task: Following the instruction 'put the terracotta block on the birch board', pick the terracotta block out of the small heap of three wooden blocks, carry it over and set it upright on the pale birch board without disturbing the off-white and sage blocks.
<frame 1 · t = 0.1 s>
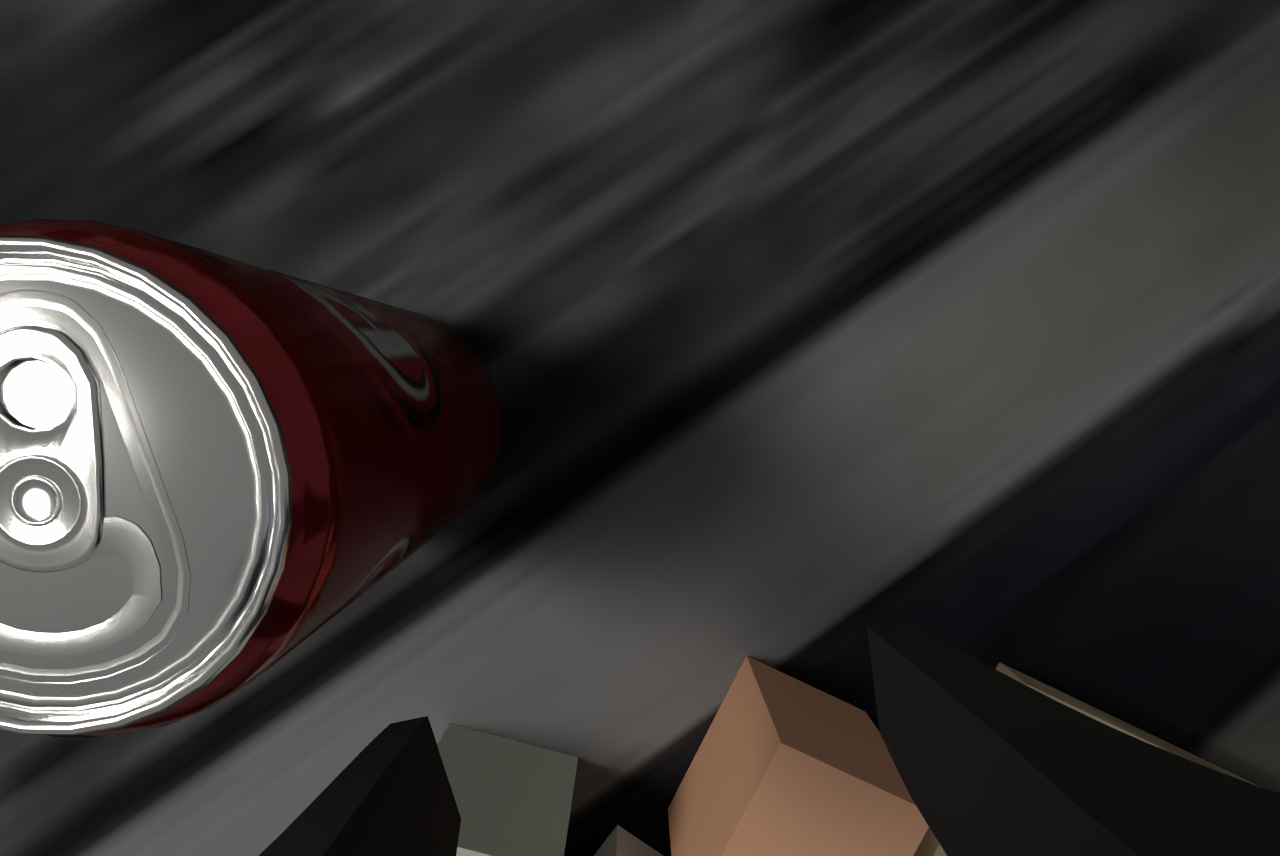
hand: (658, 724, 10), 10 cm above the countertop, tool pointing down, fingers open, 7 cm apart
terracotta block: (765, 758, 21), on the countertop
soda can: (396, 423, 20), on the countertop
sage block: (492, 819, 21), on the countertop
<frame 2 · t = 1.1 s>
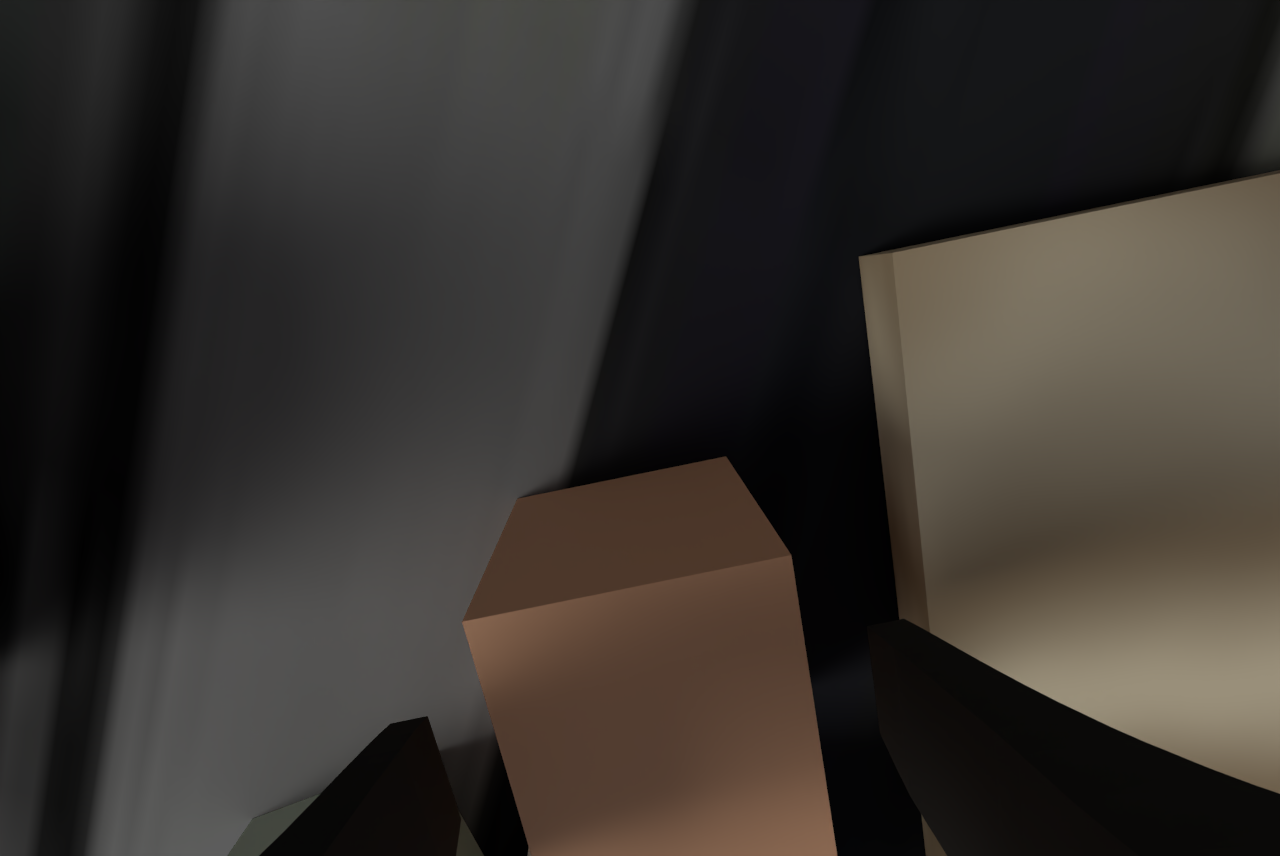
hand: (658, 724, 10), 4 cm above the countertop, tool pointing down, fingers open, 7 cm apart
terracotta block: (648, 601, 14), on the countertop
birch board: (1180, 537, 14), on the countertop
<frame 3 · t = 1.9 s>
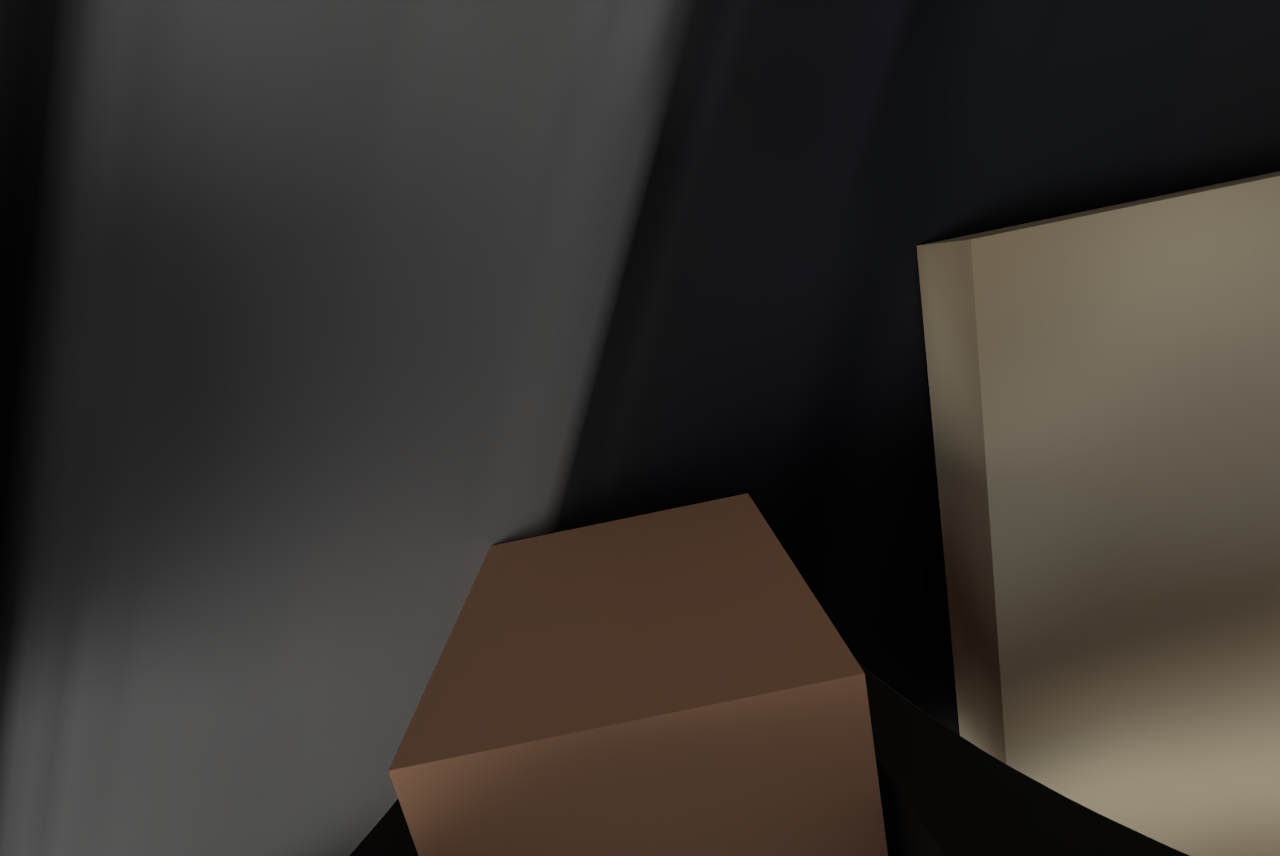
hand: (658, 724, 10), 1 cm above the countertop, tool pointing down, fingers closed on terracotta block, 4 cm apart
terracotta block: (652, 670, 11), on the countertop, touching gripper
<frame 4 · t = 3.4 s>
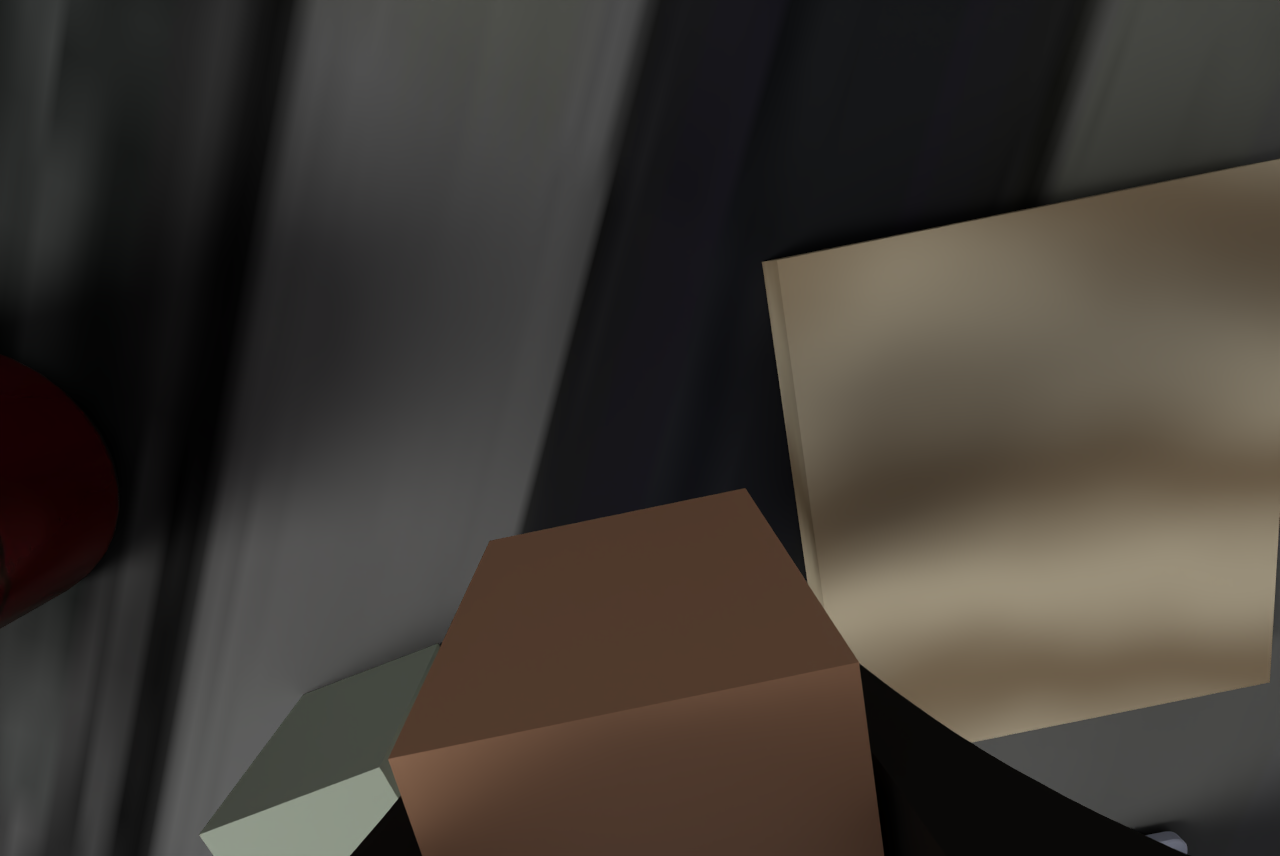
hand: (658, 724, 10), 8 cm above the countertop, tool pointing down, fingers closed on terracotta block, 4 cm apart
terracotta block: (650, 664, 11), point 7 cm above the countertop, touching gripper
soda can: (3, 471, 17), on the countertop
birch board: (1014, 476, 18), on the countertop
sage block: (415, 744, 20), on the countertop
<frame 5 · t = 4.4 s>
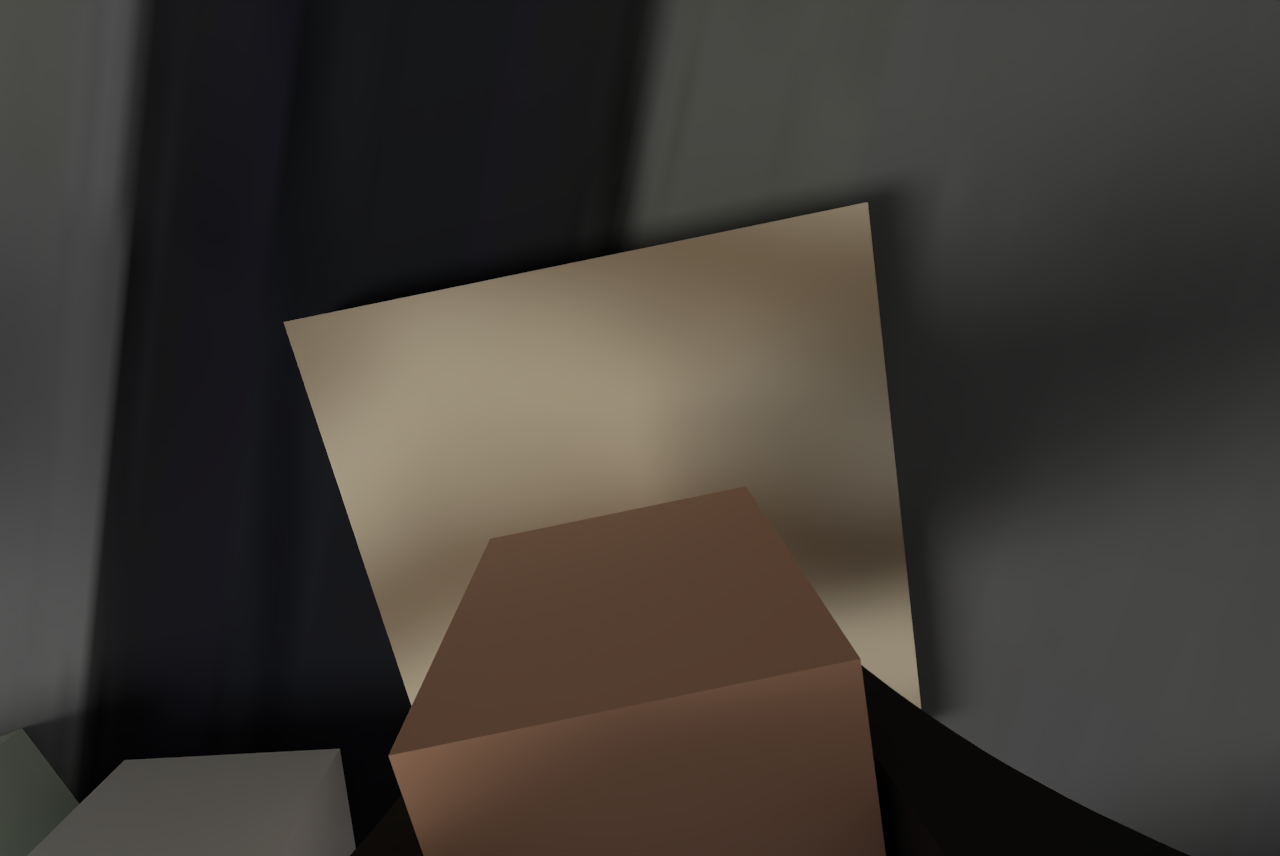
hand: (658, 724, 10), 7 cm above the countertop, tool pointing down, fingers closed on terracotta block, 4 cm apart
terracotta block: (651, 662, 11), point 5 cm above the countertop, touching gripper
offwhite block: (248, 816, 18), on the countertop
birch board: (639, 545, 17), on the countertop
sage block: (18, 833, 18), on the countertop
when the fingers open (4 cm above the countertop, at t = 5.3 s): terracotta block drops 1 cm, resting on birch board.
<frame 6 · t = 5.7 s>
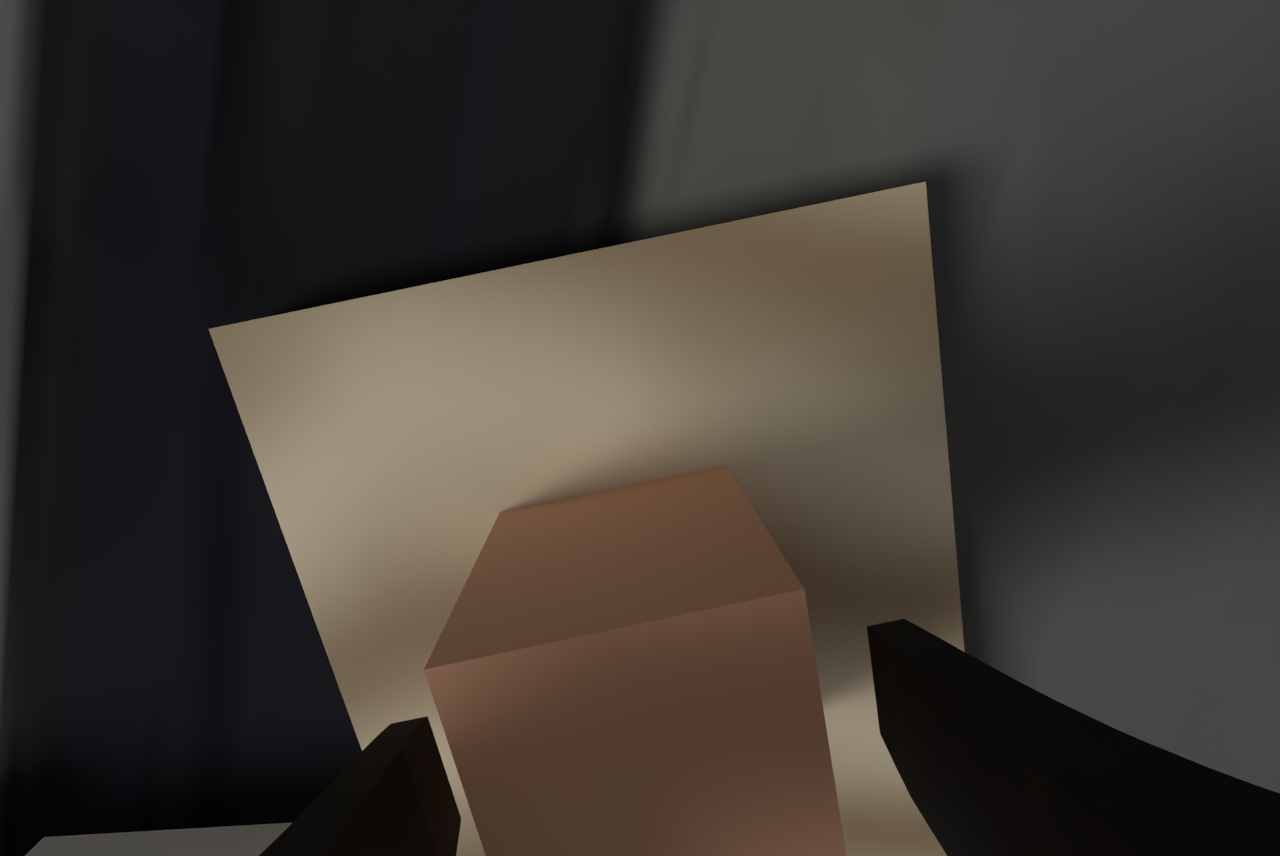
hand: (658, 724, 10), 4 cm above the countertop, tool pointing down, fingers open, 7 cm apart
terracotta block: (643, 623, 13), point 1 cm above the countertop, touching birch board
birch board: (644, 590, 14), on the countertop
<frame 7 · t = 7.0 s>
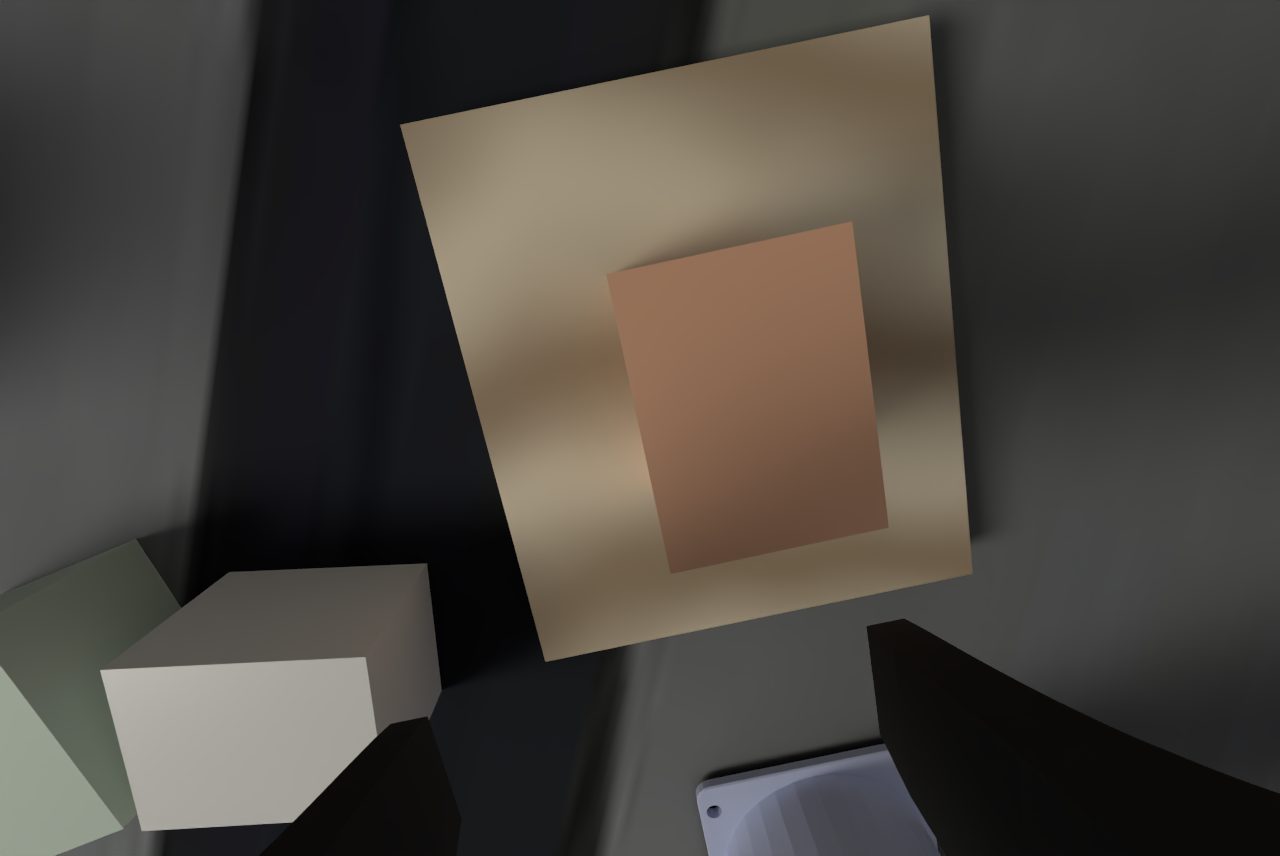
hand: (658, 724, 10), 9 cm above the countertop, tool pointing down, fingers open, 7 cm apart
terracotta block: (713, 371, 17), point 1 cm above the countertop, touching birch board
offwhite block: (340, 631, 20), on the countertop
birch board: (708, 365, 18), on the countertop
sage block: (128, 645, 19), on the countertop
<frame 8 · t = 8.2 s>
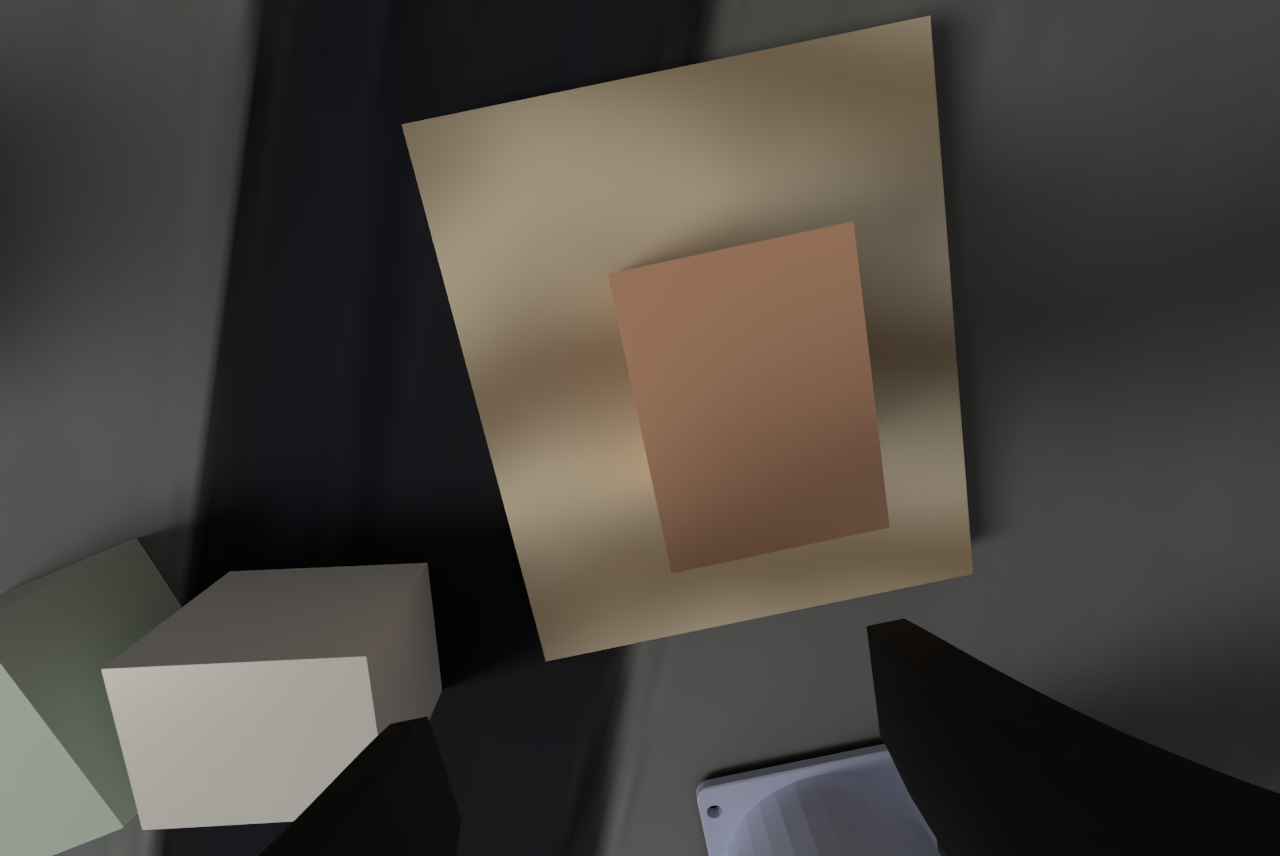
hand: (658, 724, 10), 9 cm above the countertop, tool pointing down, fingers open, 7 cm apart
terracotta block: (714, 371, 17), point 1 cm above the countertop, touching birch board
offwhite block: (340, 630, 20), on the countertop
birch board: (708, 365, 18), on the countertop
sage block: (128, 644, 19), on the countertop
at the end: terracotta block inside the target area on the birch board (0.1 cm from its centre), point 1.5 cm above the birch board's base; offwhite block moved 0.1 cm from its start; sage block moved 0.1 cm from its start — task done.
